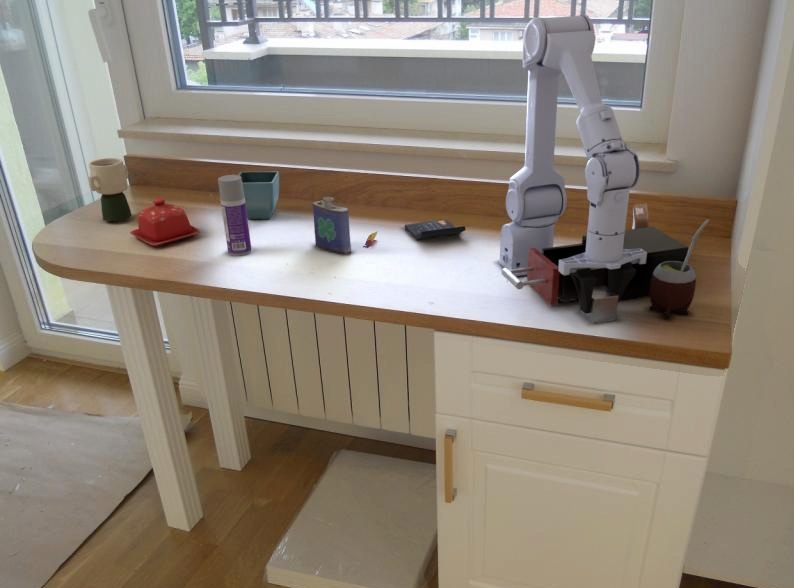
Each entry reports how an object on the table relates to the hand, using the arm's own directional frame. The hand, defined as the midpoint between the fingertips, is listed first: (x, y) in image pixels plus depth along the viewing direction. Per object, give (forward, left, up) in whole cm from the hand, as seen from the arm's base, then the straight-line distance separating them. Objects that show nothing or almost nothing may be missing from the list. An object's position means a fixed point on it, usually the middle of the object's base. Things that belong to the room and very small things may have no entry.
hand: (598, 308), depth 132 cm
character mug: (-77, +81, -2) cm, 112 cm away
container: (-53, +51, -2) cm, 73 cm away
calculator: (-13, +47, -2) cm, 49 cm away
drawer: (-2, +10, -1) cm, 10 cm away
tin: (+21, +24, -2) cm, 32 cm away
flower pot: (-46, +72, -2) cm, 85 cm away
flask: (-35, +46, -2) cm, 58 cm away
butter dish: (-67, +65, -2) cm, 93 cm away
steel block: (0, 0, -1) cm, 1 cm away
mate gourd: (+12, -2, -2) cm, 13 cm away
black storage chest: (+12, +10, -1) cm, 15 cm away
